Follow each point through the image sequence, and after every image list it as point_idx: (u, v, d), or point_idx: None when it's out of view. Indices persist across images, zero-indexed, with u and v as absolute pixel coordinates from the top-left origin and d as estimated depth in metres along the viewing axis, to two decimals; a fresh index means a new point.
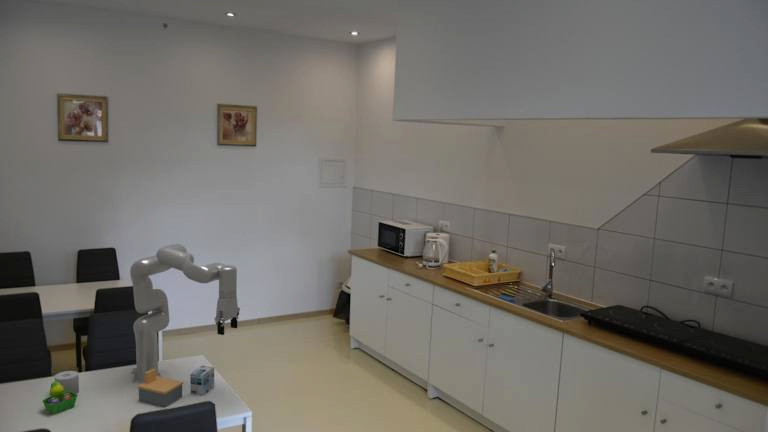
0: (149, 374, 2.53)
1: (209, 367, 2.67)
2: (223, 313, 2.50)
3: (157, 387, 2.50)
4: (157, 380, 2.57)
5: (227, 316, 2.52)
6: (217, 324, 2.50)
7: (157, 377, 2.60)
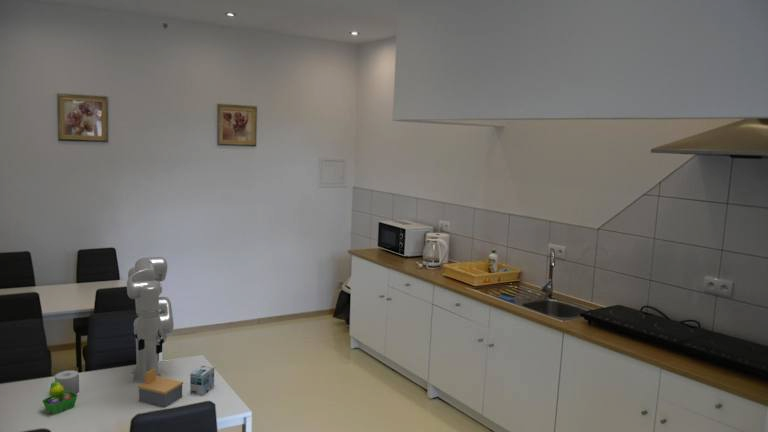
0: (149, 374, 2.53)
1: (209, 367, 2.67)
2: (161, 330, 2.52)
3: (157, 387, 2.50)
4: (157, 380, 2.57)
5: None
6: (162, 342, 2.50)
7: (157, 377, 2.60)
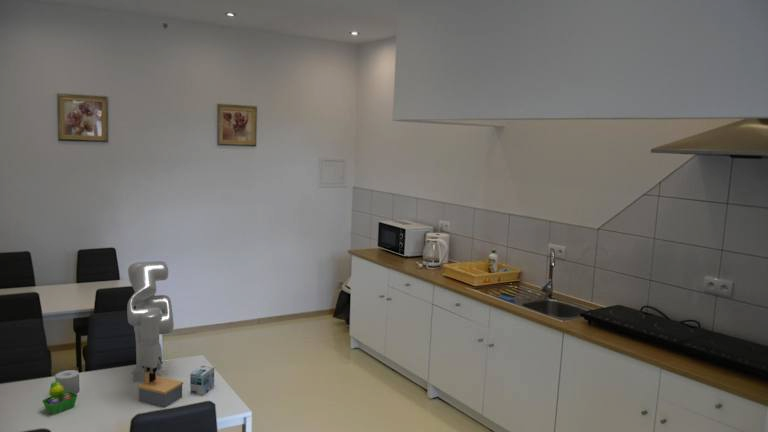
0: None
1: (209, 367, 2.67)
2: (161, 357, 2.53)
3: (157, 387, 2.50)
4: (157, 380, 2.57)
5: None
6: (155, 371, 2.53)
7: (157, 377, 2.60)
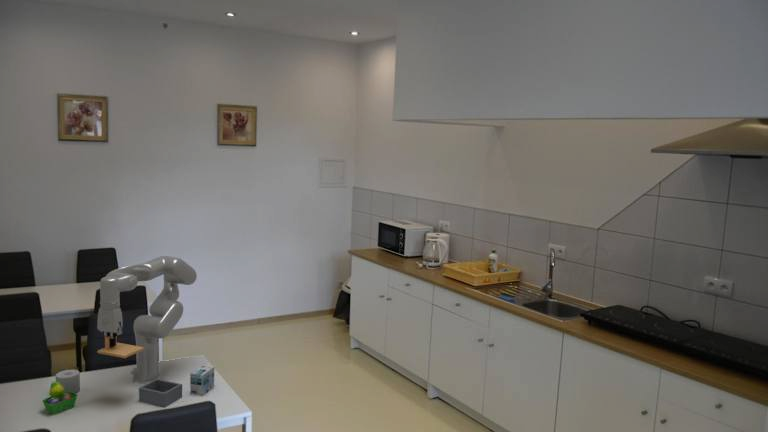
0: None
1: (209, 367, 2.67)
2: (121, 322, 2.50)
3: (117, 352, 2.46)
4: (118, 346, 2.53)
5: None
6: (115, 336, 2.50)
7: (118, 343, 2.56)
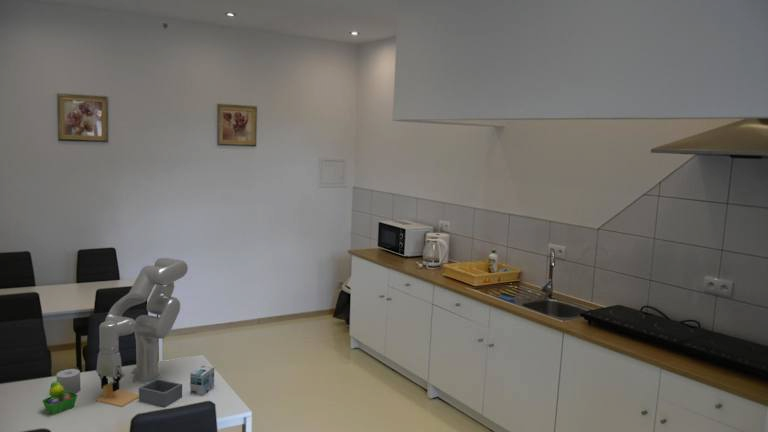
0: (107, 387, 2.53)
1: (209, 367, 2.67)
2: (120, 366, 2.53)
3: (115, 401, 2.50)
4: (116, 393, 2.57)
5: None
6: (118, 380, 2.52)
7: (116, 390, 2.60)
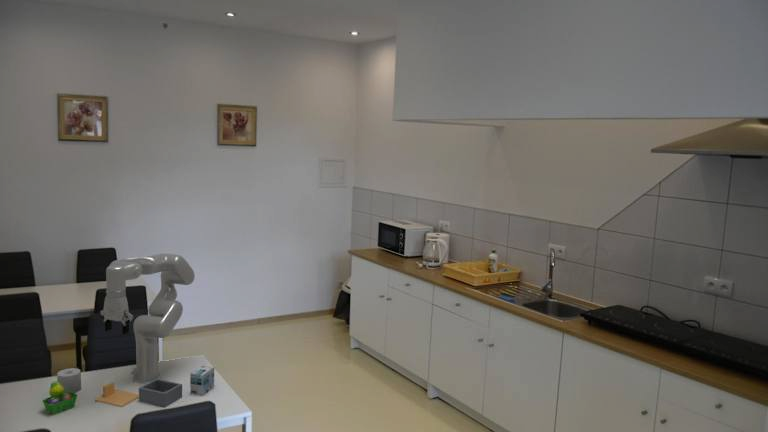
0: (107, 387, 2.53)
1: (209, 367, 2.67)
2: (127, 311, 2.51)
3: (114, 401, 2.50)
4: (115, 393, 2.57)
5: None
6: (128, 323, 2.49)
7: (116, 390, 2.60)
